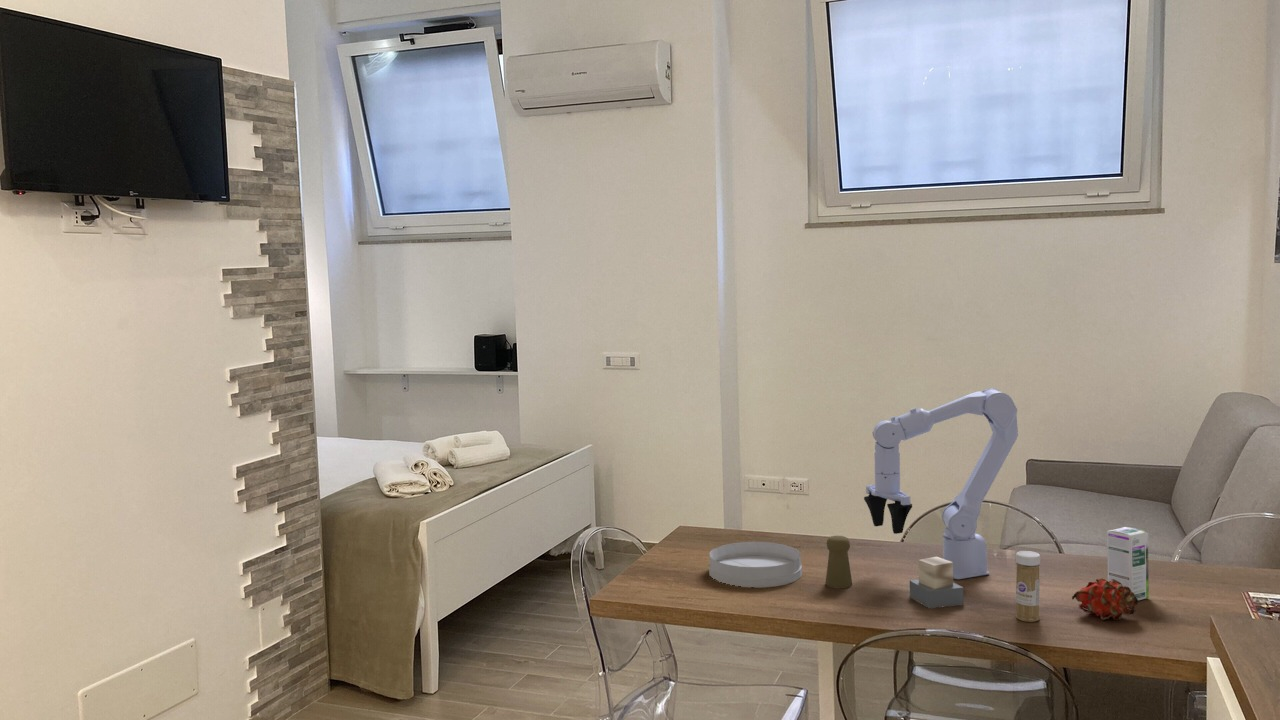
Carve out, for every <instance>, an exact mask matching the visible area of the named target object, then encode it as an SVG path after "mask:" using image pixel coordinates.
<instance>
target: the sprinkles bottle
mask: <svg viewBox="0 0 1280 720" xmlns="http://www.w3.org/2000/svg"><path fill="white" fill-rule="evenodd" d="M1015 563H1016V581H1015V582H1016V585H1015V603H1016V605H1015V606H1016V609H1015V610H1016V611H1015V618H1016V619H1017V620H1019V621H1022V622H1025V623H1027V622H1028V623H1035V622H1038V621H1040V618H1041V617H1040V579H1041V578H1040V566H1041V555H1040V554H1039V553H1038V552H1035V551H1029V550H1020V551H1017V552H1016V553H1015Z"/></svg>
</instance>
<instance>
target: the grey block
mask: <svg viewBox="0 0 1280 720" xmlns="http://www.w3.org/2000/svg"><path fill="white" fill-rule="evenodd" d="M909 598H911V599H912V598H913V599H912V600H914V599H915V600H914V601H916V602H917V603H919V604H921V603H922V604H923V605H922V604H921V605H922V606H924V605H925V606H924V607H926V608H927V607H928V608H927V609H929V608H931V609H935V608H934V607H939V608H943V607H942V606H948V607H955V605H956V606H964V587H963V586H961V585H959V584H957V583H955V582H954V581H953V585H952V586H947V587H942V588H937V589H933V588H931V587H928V586H926V585H923V584H921V583H919V578H918V579H909Z"/></svg>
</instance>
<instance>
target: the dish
mask: <svg viewBox="0 0 1280 720" xmlns="http://www.w3.org/2000/svg"><path fill="white" fill-rule="evenodd" d="M801 555H802V554H801V552H800V551H799V550H798V549H796V548H795V547H792V546H790V545H786V544H781V543H776V542H771V541H768V542H767V541H741V542H733V543H728V544H723V545H719V546H717V547H715V548H713V549H711V550H710V552H709V563H708V573H709V577H710V576H711V577H712V578H713V579H712V578H711V577H710V578H711V579H712V580H714V579H716V580H718V581H719V582H718V581H717V582H718V583H720V582H722V583H721V584H723V583H726V584H725V585H727V584H730V585H729V586H732V585H735V586H734V587H738V586H741V587H740V588H751V587H754V588H759V589H760V588H772V587H780V586H784V585H789V584H791V583H794V582H796V581H797V580H799V579H801V576H803V565H802V561H801V560H802V558H801V557H802V556H801ZM716 580H715V581H716ZM754 588H753V589H754Z"/></svg>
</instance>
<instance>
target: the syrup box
mask: <svg viewBox="0 0 1280 720" xmlns="http://www.w3.org/2000/svg"><path fill="white" fill-rule="evenodd" d="M1106 545H1107V546H1106V549H1107V551H1106V553H1107V555H1106V558H1107V559H1106V561H1107V564H1106V565H1107V581H1108V582H1109V581H1113V580H1111V579H1115V580H1117V581H1118V582H1120V583H1121V584H1122V585H1123V586H1127V587H1129V588H1130V590H1131V592H1133V593H1134V594H1135V595H1136V598H1137V599H1138V601H1141V600H1145V599H1149V597H1150V591H1149V586H1150V585H1149V584H1150V582H1149V581H1150V580H1149V532H1148V531H1146V530H1144V529H1140V528H1135V527H1129V526H1123V527H1120V528H1116V529H1109V530H1107V532H1106Z"/></svg>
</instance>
